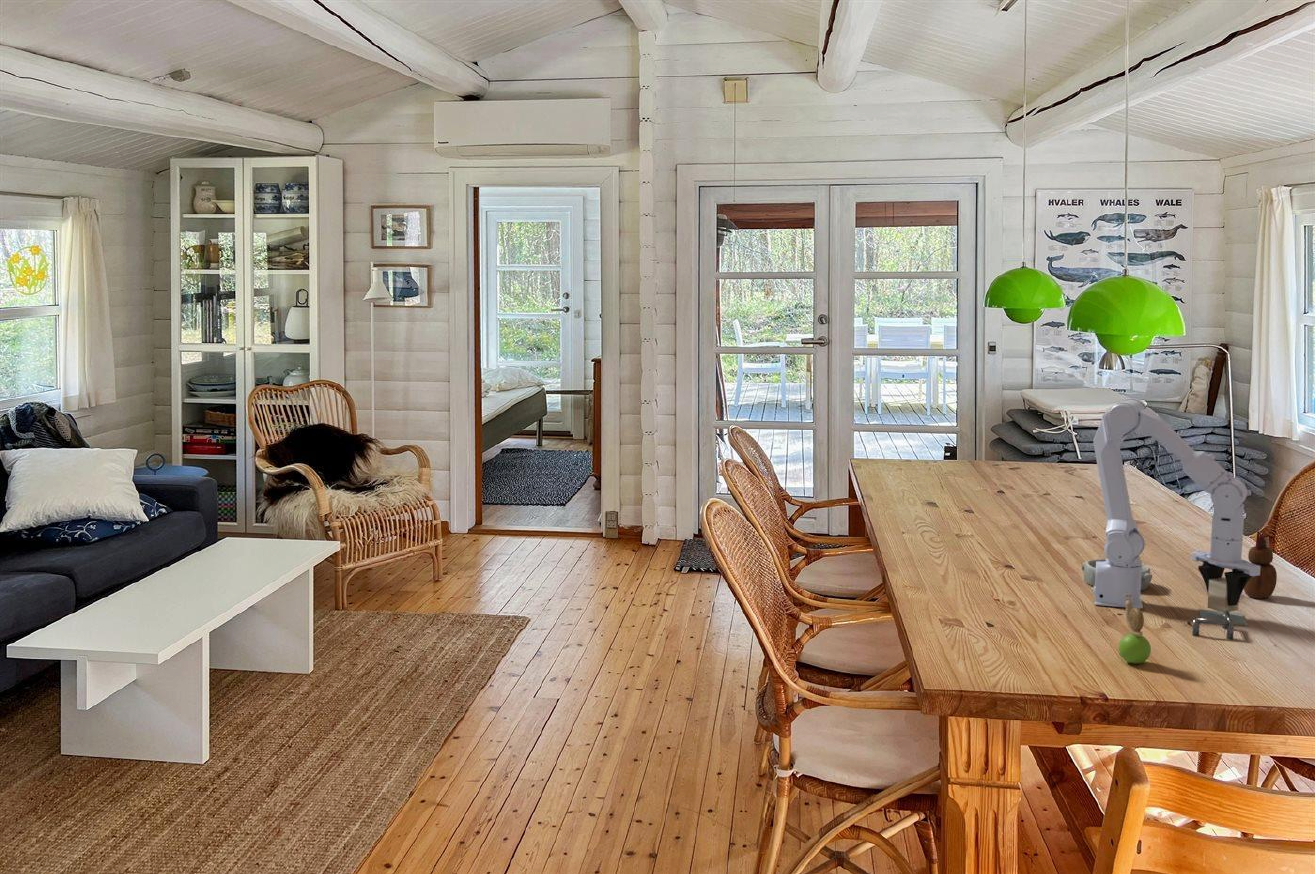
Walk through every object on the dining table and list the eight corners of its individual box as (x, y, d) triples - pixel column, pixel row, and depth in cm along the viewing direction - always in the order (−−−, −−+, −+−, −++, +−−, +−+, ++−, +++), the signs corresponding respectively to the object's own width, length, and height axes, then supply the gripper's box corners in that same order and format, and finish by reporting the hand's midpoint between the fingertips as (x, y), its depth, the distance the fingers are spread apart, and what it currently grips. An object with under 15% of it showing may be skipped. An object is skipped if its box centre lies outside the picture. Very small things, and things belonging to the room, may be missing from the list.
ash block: (1224, 612, 225) (1225, 584, 224) (1207, 607, 229) (1209, 579, 228) (1238, 610, 227) (1239, 581, 226) (1221, 605, 231) (1222, 577, 230)
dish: (1159, 593, 248) (1160, 571, 247) (1096, 593, 248) (1097, 572, 247) (1133, 576, 262) (1134, 556, 261) (1074, 577, 262) (1075, 556, 262)
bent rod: (1192, 635, 217) (1193, 617, 217) (1189, 623, 225) (1190, 606, 224) (1233, 639, 214) (1234, 621, 214) (1228, 627, 222) (1229, 609, 222)
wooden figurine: (1255, 601, 240) (1259, 533, 238) (1235, 594, 245) (1239, 528, 243) (1281, 598, 241) (1285, 531, 240) (1260, 592, 247) (1264, 526, 245)
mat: (1202, 621, 226) (1202, 619, 226) (1198, 610, 233) (1199, 609, 233) (1246, 625, 223) (1246, 623, 223) (1241, 614, 230) (1241, 612, 230)
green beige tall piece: (1139, 655, 206) (1142, 593, 204) (1155, 667, 199) (1158, 602, 198) (1110, 656, 206) (1113, 593, 204) (1125, 668, 199) (1128, 603, 198)
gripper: (1183, 532, 231) (1179, 595, 233) (1244, 546, 218) (1240, 613, 220) (1207, 529, 234) (1203, 591, 236) (1269, 543, 221) (1265, 609, 222)
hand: (1223, 602), depth 228 cm, fingers closed on ash block, 4 cm apart
